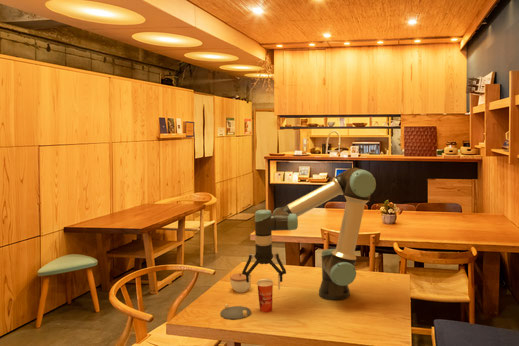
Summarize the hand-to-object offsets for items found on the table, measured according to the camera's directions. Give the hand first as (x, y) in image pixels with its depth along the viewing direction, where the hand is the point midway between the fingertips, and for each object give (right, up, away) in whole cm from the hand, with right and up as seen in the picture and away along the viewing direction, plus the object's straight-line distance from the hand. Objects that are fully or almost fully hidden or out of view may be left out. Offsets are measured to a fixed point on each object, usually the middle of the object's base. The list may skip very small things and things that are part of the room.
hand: (264, 288), depth 235 cm
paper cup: (+1, -10, +1) cm, 10 cm away
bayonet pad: (-13, -11, -2) cm, 17 cm away
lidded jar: (-12, -8, +29) cm, 32 cm away
